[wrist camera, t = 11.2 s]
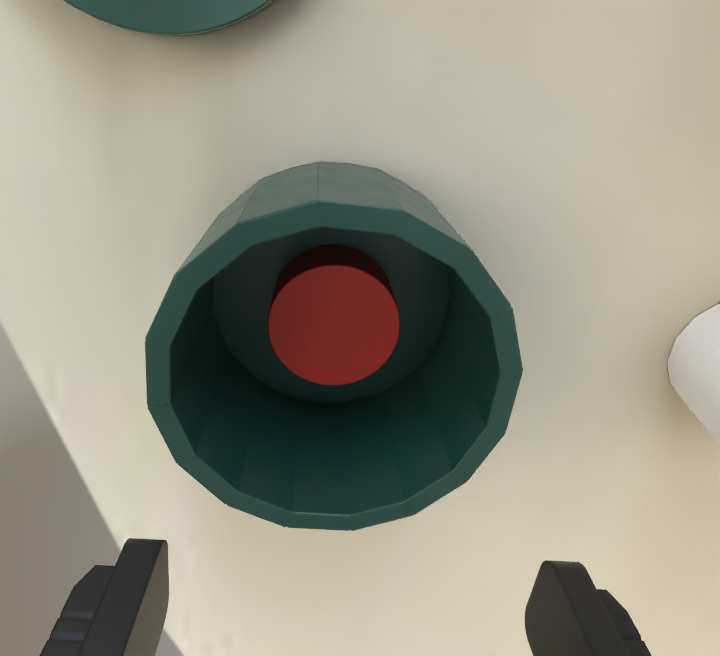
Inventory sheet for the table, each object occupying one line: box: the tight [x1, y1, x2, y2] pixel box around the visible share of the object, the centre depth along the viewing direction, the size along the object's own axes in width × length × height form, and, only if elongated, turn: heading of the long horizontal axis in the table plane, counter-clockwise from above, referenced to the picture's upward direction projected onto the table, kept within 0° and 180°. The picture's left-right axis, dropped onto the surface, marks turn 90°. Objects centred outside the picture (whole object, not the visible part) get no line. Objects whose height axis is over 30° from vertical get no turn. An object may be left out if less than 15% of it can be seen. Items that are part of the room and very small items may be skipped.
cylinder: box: [268, 245, 400, 385], centre depth 25 cm, size 6×6×3 cm
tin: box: [145, 162, 523, 531], centre depth 23 cm, size 13×13×8 cm
